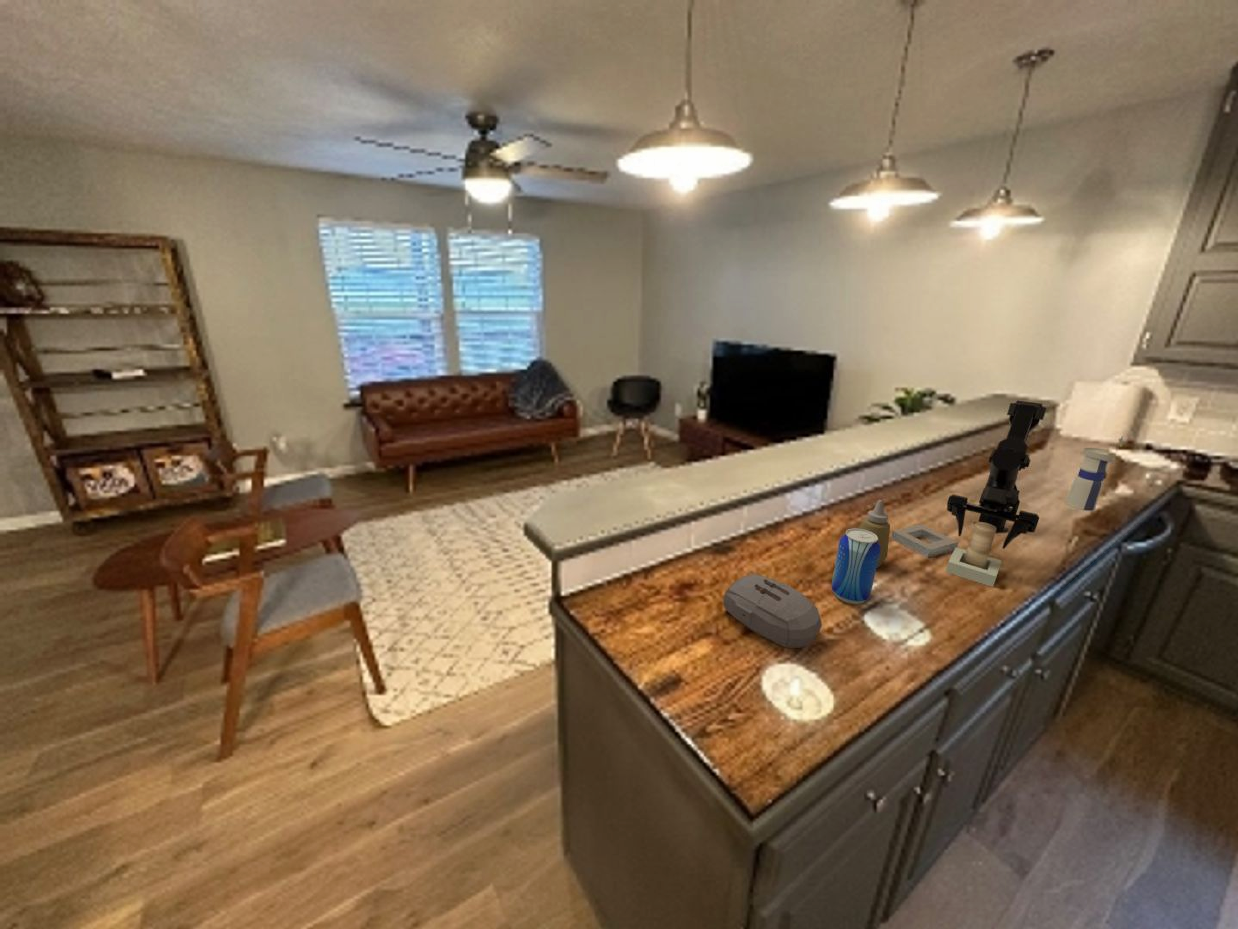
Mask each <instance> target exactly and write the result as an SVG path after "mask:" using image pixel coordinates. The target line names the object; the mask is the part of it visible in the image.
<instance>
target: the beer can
mask: <svg viewBox="0 0 1238 929" xmlns="http://www.w3.org/2000/svg"><path fill="white" fill-rule="evenodd" d="M838 543H839V544H838V547H837V554H836V560H835V565H834V568H833V569H834V570H833V574H832V581H831V585H830V586H831V588H830V589H831V590H832V592H833V595H834V596H835V597H836V598H837V599H838V600H840V601H842V602H844V603H846V604H852V605H861V604H864V603H865V602H866V601H868V600H869V599H871V594H872V590H873V586H874V581H875V577H876V576H875V575H876V571H877V563H878V559H879V554H880V549H881V548H880V545H879V543H878V537H877V536H876V535H875V534H874V533H872V532H870V531H867V530H864V529H860V528H856V527H855V528H850V529H849V528H848V529H846V531H845V534H844V535H843V536H841V537H840V539H839V542H838Z"/></svg>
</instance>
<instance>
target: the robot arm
mask: <svg viewBox="0 0 1238 929" xmlns="http://www.w3.org/2000/svg"><path fill="white" fill-rule="evenodd" d="M1047 408H1048V407H1046V406H1043V403H1042V402H1041V403H1040V402H1033V401H1032V402H1031V401H1025V400H1016V402H1010V403H1009V405H1008V411H1007V414H1006V415H1007V416H1009V417H1008V424H1009V426H1010V428H1009V430H1008V433H1007V436H1006V438H1003V440H1000V441H999V442H998V445H997V447H996V448H993V450H992V452H991V453H990V456H989V459H988V463H990V469H989V476H988V477H987V478H988V479H987V481H986V483H985V487H983V490H982V493H981V494H980V497H979V500H978V501H979V502H978V504H974V503H970V502H968V499H969V497H967V496H962V495H957V494H954V493H953V494H951V495H949V497H948V499H947V503H946V511H948V512H949V513H951V515H952V516H955V519H956V523H957V532H958V537H961V536H962V534H963V527H964V522H965V518H966V517H965V516H966V511H969V512H973V513H977V514H979V519H978V521H973V525H974V524H975V523H976V522H984V523H988V524H991V525H993V526H995V527H996V528H997V529H996V532H995V533H1002V532H1004V533H1005V532H1008V534H1007V536H1006V537H1005V539H1004V542H1003V545H1002V549H1004V550H1005V549H1006V548H1007V547H1008V546H1009V544H1010V543H1011V542H1012V541H1014V540H1015V538H1017V537H1018V536H1020V535H1021V534H1025V535H1026V534H1027V533H1035V532H1036V528H1037V526H1038V524H1039V520H1040V516H1039V514H1037V513H1033V512H1029V511H1026V510H1021V509H1020V510H1019V506H1020V503H1021V501H1020V500H1019V496H1020V491H1021V490H1018V486H1017V484H1016V482H1017V480H1018V475H1019V472H1021V471H1022V470H1026V468H1029V466H1030V463H1031V459H1030V456H1029V454H1027V453H1028V449H1029V445H1028V444H1027V441H1028V437H1029V434H1030V433H1031V432H1033V431H1034V430H1035V429H1037V428H1038V427H1039V425H1040V421H1043V420H1044V418H1045V415H1046V412H1047ZM1018 510H1019V513H1018ZM1007 521H1008V522H1013V524H1012V526H1011V528H1010V529H1009V528H1007V527H1006V523H1007Z"/></svg>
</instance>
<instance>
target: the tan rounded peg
mask: <svg viewBox="0 0 1238 929" xmlns="http://www.w3.org/2000/svg"><path fill="white" fill-rule="evenodd" d="M975 522H976V523H975V524H974V523H973V527H972V531H971V534H970V538H969V542H968V545H967V549H966V550H967V552H966V555H965V558H964V562H963V563H966V564H969V565H972V566H975V567H979V568H982V569H984V568H985V565H986V562H987V559H988V557H989V555H990V551H991V548H992V546H993V541H994V539H995V535H996V533H997V532H996V529H997V528H996V527H995V526H993V525H991V524H988V523H984V522H977V521H975Z"/></svg>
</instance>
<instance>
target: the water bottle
mask: <svg viewBox="0 0 1238 929" xmlns="http://www.w3.org/2000/svg"><path fill="white" fill-rule="evenodd" d="M1123 438H1124V436H1121V438H1118V444H1117V446H1119V447H1120V448H1122V446H1123V443H1124V442H1125V441H1124V440H1123ZM1108 453H1109V452H1108V451H1107V450H1106V449H1103V448H1099V447H1098V448H1097V447H1084V448H1083V449H1082V450H1081V451H1080V454H1081V455H1083V456H1084V460H1083V462H1082V463H1081V464H1080V465H1078V466H1079V468H1080V469H1079V471H1078V474H1077V475H1076V477H1074V480H1073V482H1072V485H1071V488H1070V490H1069V493H1068V495H1067V497H1066V498H1065V501H1064V504H1065V505H1067V506H1069V507H1071V508H1073V509H1077V510H1081V511H1089V512H1090V511H1091V512H1092V511H1095V510H1096V508H1097V504H1098V501H1099V498H1100V496H1101V493H1102V490H1103V486H1104V480H1106V479H1107V478H1108V476H1109V475H1108V474H1109V473H1108V472H1109V470H1108V464H1109V463H1112V464H1113V463H1114V460H1115V457H1116V455H1117V454H1115V453H1114V454H1108Z"/></svg>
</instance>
